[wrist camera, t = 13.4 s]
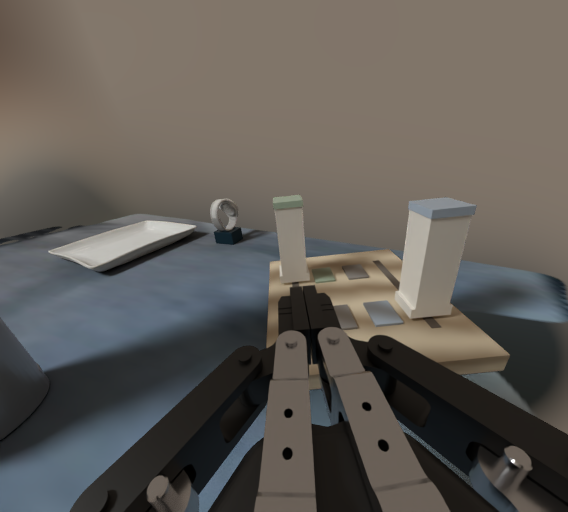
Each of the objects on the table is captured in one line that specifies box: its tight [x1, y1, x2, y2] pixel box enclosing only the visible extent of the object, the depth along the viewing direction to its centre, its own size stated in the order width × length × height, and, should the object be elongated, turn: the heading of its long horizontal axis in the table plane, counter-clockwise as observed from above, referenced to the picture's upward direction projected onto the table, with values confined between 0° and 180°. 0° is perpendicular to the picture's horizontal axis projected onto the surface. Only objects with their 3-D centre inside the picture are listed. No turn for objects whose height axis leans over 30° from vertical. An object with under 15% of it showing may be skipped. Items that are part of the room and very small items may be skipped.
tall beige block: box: [273, 195, 310, 283], centre depth 33 cm, size 4×4×12 cm
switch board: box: [266, 249, 510, 390], centre depth 32 cm, size 24×22×2 cm
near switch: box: [395, 197, 476, 319], centre depth 24 cm, size 4×4×12 cm
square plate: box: [49, 221, 197, 272], centre depth 64 cm, size 27×27×4 cm
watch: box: [210, 199, 243, 245], centre depth 59 cm, size 6×8×11 cm
